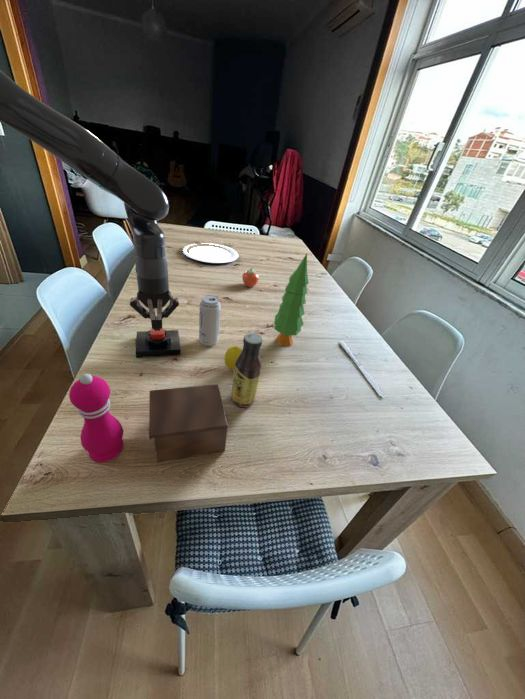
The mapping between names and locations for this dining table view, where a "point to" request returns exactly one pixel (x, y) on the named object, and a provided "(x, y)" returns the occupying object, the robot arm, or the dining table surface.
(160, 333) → the button
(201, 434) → the box
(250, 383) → the sauce bottle
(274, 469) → the dining table surface
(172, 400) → the lid
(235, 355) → the lemon
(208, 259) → the plate
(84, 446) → the pepper mill
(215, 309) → the energy drink can
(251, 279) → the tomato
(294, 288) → the decorative tree
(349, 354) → the butter knife
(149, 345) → the button housing
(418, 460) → the dining table surface
